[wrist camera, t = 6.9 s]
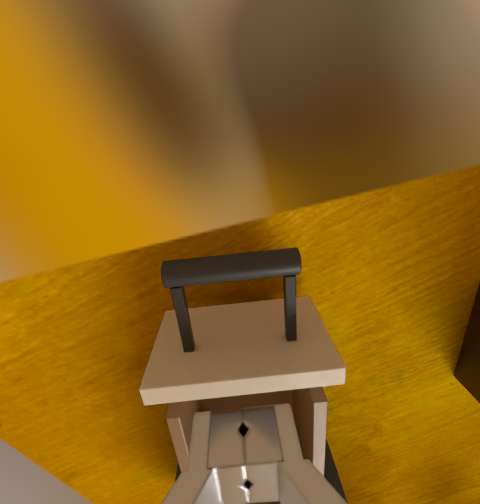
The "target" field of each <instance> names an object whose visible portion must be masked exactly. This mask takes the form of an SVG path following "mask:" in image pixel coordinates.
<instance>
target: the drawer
mask: <svg viewBox="0 0 480 504" xmlns="http://www.w3.org/2000/svg"><path fill="white" fill-rule="evenodd" d="M300 273H301V257H300V253H299V250H298V248H287V249H277V250H267V251H257V252H248V253H238V254H228V255H219V256H209V257H199V258H189V259H180V260H170V261H164V262H163V263H162V266H161V277H162V282H163V285H164V287H165V288H170V290H171V295H172V300H173V304H174V309H175V310H168V311H165V314H164V317H163V320H162V323H161V326H160V329H159V332H158V335H157V338H156V341H155V344H154V346H153V349H152V352H151V355H150V358H149V361H148V364H147V367H146V370H145V373H144V376H143V379H142V382H141V385H140V388H139V391H140V395H141V398H142V401H143V404H144V405H154V404H163V403H169V405H168V410H167V415H166V421H167V424H168V428H169V431H170V435H171V438H172V442H173V445H174V449H175V452H176V456H177V460H178V463H179V467H180V470H181V473H182V472H185V471H187V467H188V459H189V450H190V441H191V433H192V424H193V417H194V414H195V412H206V411H219V410H231V409H242V408H247V407H255V406H264V405H272V404H273V405H277V404H285V403H289V404H290V406H291V408H292V413H293V417H294V421H295V425H296V430H297V434H298V438H299V442H300V447H301V451H302V455H303V459H309V460H310V461H311V462H312V464H313V465H314V466H315V467H316V468H317V469H318V470H319V472H320V473H321V474H322V475H323V476H324V468H325V445H326V422H327V398H326V396H325V393H324V391H323V388H322V386H331V385H341V384H345V376H346V366H345V364H344V362H343V360H342V359H341V357H340V355H339V353H338V351H337V349H336V347H335V345H334V343H333V341H332V339H331V337H330V335H329V333H328V331H327V329H326V328H325V326H324V324H323V322H322V320H321V318H320V316H319V314H318V312H317V310H316V308H315V306H314V304H313V302H312V300H311V298H310V297H309V296H302V297H296V276H295V275H297V274H300ZM278 276H283V291H284V298H283V299H273V300H264V301H254V302H244V303H235V304H225V305H216V306H206V307H196V308H188V306H187V301H186V296H185V291H184V286H191V285H201V284H210V283H220V282H230V281H239V280H249V279H259V278H268V277H278ZM247 504H280V501H274V502H259V503H247Z"/></svg>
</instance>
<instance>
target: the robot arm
mask: <svg viewBox="0 0 480 504" xmlns="http://www.w3.org/2000/svg"><path fill="white" fill-rule="evenodd" d="M274 501H280V504H347V503H346V502H345V500H344V499H343V498H342V497H341V496H340V495H339V493H338V492H337V491H336V490H335V489H334V488H333V487H332V485H331V484H330V483H329V482H328V481H327V480H326V478H325V477H324V476H323V475H322V474H321V473H320V472H319V470H318V469H317V468H316V467H315V466H314V465H313V464H312V462H311V461H310V460H309V459H303V455H302V451H301V447H300V442H299V438H298V434H297V430H296V425H295V421H294V417H293V413H292V408H291V406H290V404H289V403H285V404H277V405H273V404H272V405H264V406H255V407H247V408H242V409H231V410H219V411H206V412H195V414H194V417H193V424H192V433H191V441H190V450H189V459H188V467H187V471H185V472H182V473H181V474H180V476H179V477H178V479H177V480H176V482H175V483H174V485H173V486H172V488H171V489H170V491H169V493H168V494H167V496H166V497H165V499H164V500H163V502H162V503H161V504H247V503H259V502H274Z"/></svg>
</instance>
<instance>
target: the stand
mask: <svg viewBox="0 0 480 504" xmlns="http://www.w3.org/2000/svg"><path fill="white" fill-rule="evenodd" d="M454 376H455V378H456V379H457V380H458V381H459V382H460V383H461V384H462V385H463V386H464V387H465V388H466V389H467V390H468V391H469V392H470V393H471V395H472V396H473V397H474V398H475V399H476V400H477V401H478V402H479V403H480V285H479V288H478V292H477V295H476V299H475V303H474V306H473V310H472V313H471V317H470V320H469V324H468V328H467V331H466V335H465V338H464V342H463V346H462V349H461V353H460V356H459V360H458V363H457V367H456V371H455V374H454Z"/></svg>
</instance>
